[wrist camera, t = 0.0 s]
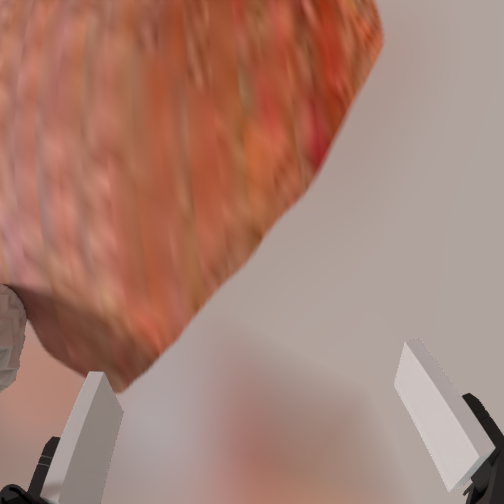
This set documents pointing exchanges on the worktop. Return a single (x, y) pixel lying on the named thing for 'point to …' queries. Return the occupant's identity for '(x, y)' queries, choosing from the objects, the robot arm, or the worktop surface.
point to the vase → (10, 335)
